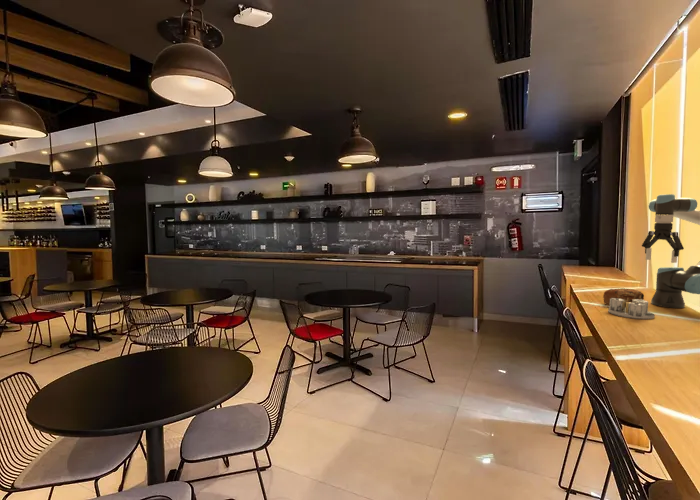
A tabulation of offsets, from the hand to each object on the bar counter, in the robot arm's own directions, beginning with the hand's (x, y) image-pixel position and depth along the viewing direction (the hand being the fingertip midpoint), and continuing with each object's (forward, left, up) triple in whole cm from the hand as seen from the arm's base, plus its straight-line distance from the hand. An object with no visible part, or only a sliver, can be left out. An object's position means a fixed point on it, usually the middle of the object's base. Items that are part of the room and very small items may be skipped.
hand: (660, 261), depth 199 cm
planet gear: (+13, +1, -28) cm, 31 cm away
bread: (+3, -17, -29) cm, 34 cm away
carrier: (+19, +1, -29) cm, 34 cm away
